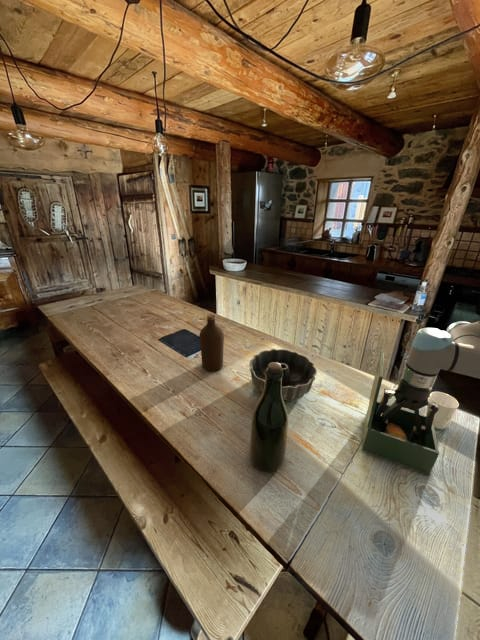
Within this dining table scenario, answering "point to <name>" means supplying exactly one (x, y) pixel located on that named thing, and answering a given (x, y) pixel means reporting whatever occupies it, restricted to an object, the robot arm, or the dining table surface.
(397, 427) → the pastry
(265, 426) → the beer bottle
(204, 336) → the olive oil
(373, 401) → the bin lid
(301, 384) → the bundt pan
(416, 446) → the bin
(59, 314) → the dining table surface
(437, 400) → the white cup
